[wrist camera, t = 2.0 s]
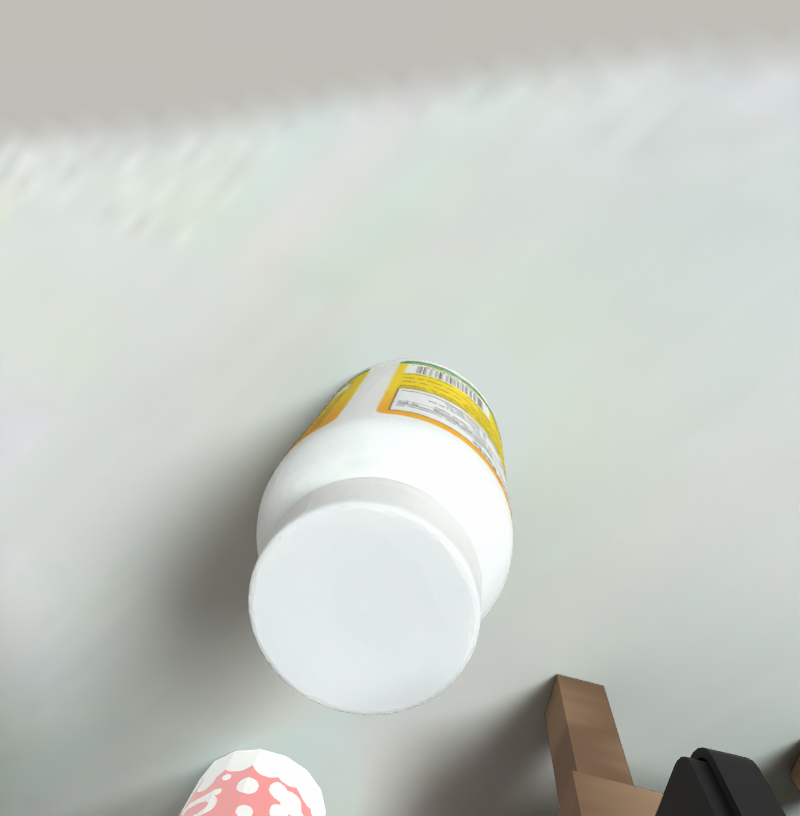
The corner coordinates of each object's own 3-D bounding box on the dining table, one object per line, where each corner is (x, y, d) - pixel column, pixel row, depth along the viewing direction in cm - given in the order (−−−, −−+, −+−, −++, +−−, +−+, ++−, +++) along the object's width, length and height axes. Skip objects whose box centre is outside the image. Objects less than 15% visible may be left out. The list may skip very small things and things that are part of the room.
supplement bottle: (482, 339, 20) (495, 434, 11) (515, 513, 21) (553, 731, 12) (300, 375, 21) (170, 493, 12) (342, 541, 22) (253, 767, 13)
